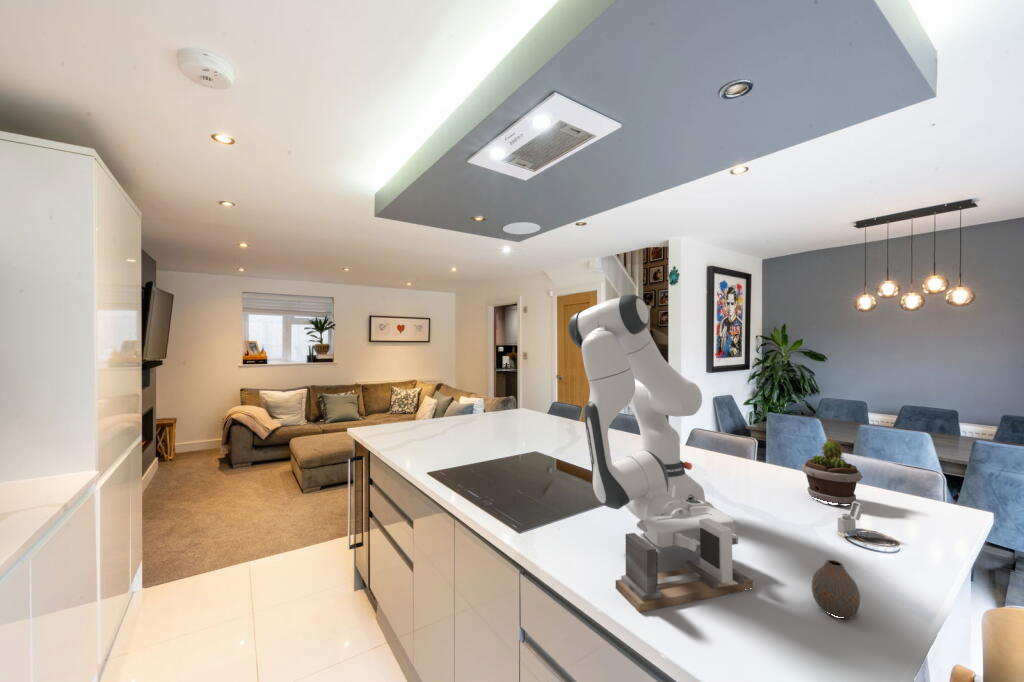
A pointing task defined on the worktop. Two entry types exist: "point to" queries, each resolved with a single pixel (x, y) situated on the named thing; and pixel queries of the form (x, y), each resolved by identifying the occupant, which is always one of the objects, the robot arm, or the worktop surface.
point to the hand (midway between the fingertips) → (716, 544)
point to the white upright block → (716, 549)
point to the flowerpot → (831, 475)
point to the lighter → (850, 518)
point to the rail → (668, 580)
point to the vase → (835, 590)
